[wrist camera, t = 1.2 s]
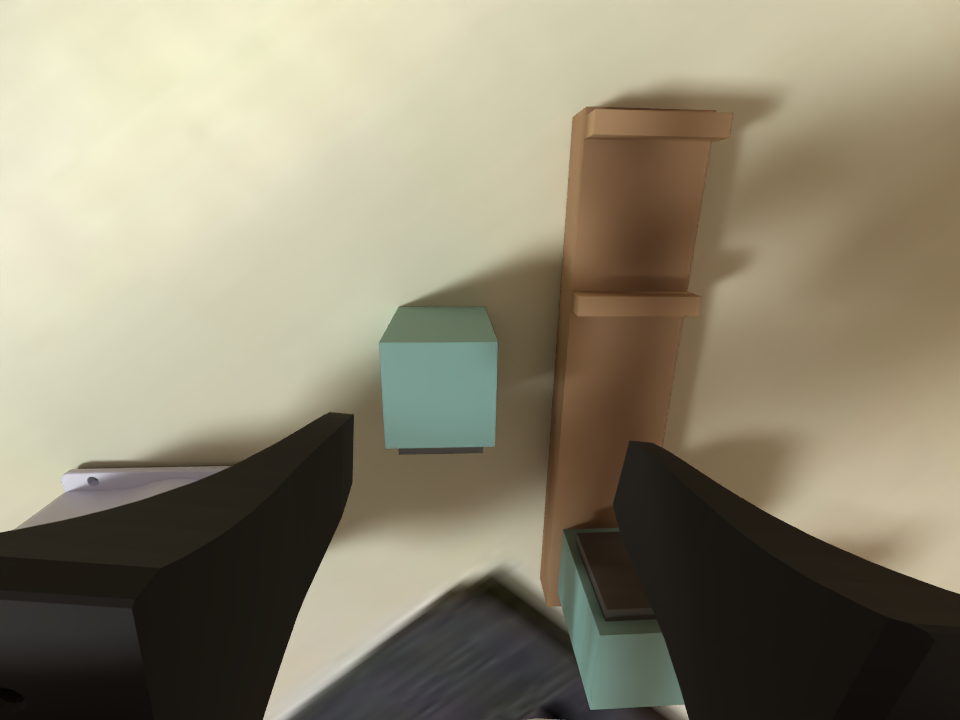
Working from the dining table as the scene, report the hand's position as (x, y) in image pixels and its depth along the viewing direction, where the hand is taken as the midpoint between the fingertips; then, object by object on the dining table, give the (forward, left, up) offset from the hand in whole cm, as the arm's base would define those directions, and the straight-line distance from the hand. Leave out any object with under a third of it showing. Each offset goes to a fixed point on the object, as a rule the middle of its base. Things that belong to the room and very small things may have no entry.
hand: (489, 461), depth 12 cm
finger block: (-1, 0, -10) cm, 11 cm away
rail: (+7, -2, -10) cm, 13 cm away
